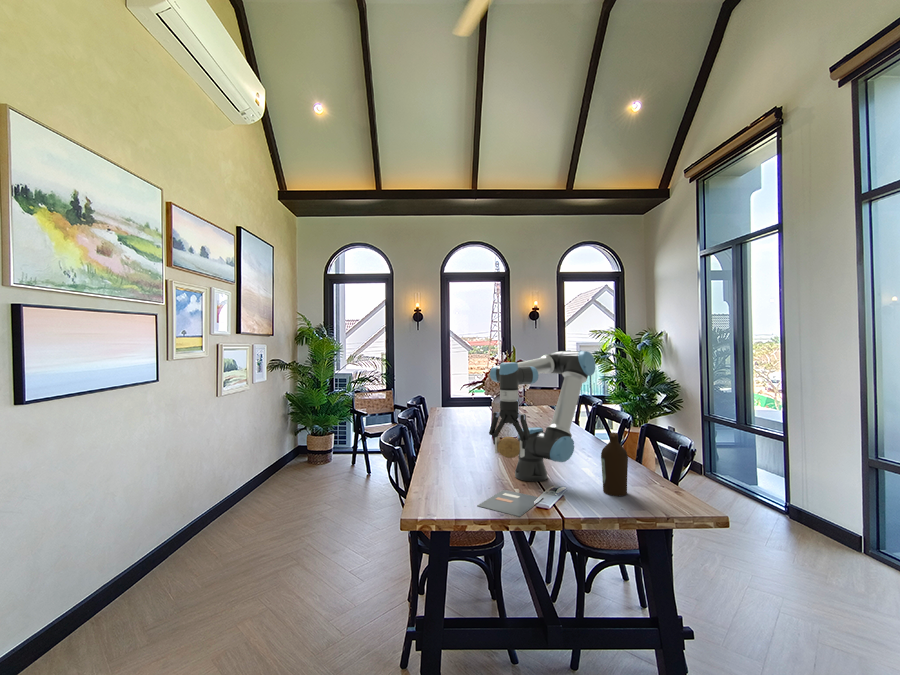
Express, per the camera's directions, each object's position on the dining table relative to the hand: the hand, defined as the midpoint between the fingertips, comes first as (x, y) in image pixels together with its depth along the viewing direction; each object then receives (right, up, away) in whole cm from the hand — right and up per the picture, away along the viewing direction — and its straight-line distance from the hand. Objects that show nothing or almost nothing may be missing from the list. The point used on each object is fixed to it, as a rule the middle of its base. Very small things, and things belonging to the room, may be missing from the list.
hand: (509, 454), depth 166 cm
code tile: (0, -18, -4) cm, 18 cm away
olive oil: (+45, -18, +6) cm, 49 cm away
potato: (0, -1, 0) cm, 1 cm away
